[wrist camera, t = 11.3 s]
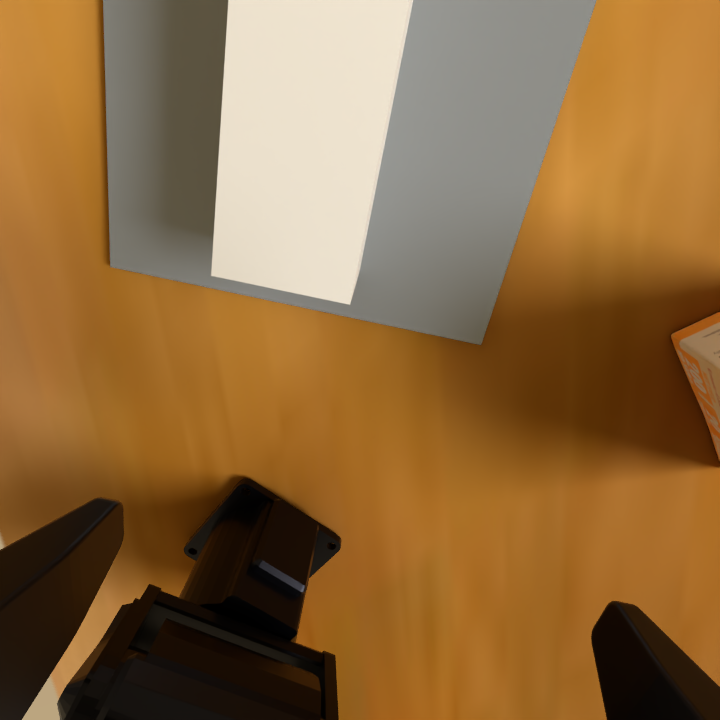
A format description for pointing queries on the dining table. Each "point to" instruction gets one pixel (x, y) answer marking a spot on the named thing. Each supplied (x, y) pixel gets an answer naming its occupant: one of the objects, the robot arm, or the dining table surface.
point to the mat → (399, 161)
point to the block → (303, 139)
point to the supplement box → (703, 368)
